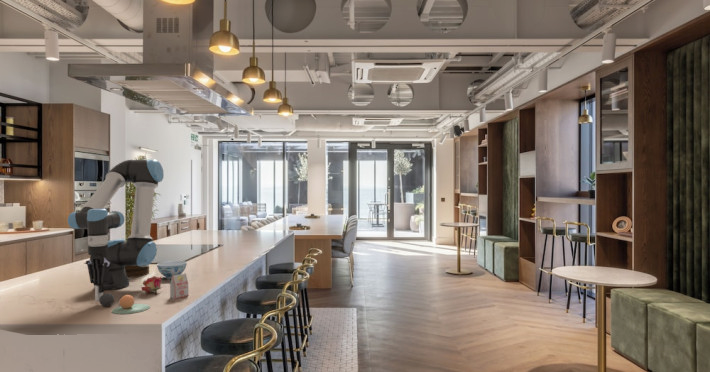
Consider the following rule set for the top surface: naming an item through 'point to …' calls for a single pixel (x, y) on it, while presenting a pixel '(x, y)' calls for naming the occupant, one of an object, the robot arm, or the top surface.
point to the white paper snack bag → (179, 286)
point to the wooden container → (136, 270)
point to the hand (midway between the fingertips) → (99, 300)
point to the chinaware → (171, 268)
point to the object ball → (126, 301)
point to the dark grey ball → (106, 299)
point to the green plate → (131, 309)
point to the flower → (152, 284)
